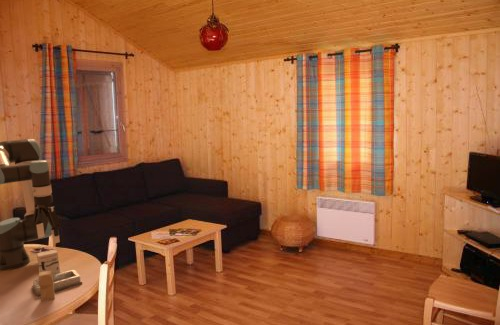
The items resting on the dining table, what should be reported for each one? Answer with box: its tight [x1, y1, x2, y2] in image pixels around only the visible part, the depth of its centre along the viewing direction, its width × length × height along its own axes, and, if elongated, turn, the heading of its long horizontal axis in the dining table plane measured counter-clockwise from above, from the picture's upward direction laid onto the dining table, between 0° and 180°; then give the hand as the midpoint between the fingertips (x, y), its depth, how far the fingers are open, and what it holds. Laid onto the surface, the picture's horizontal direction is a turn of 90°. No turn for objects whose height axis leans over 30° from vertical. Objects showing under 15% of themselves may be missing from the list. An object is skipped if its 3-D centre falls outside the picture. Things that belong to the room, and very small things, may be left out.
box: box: [38, 270, 56, 302], centre depth 172 cm, size 5×4×11 cm
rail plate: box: [31, 269, 83, 298], centre depth 184 cm, size 12×18×4 cm, turn 128°
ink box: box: [36, 249, 61, 275], centre depth 194 cm, size 8×5×12 cm, turn 123°
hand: (48, 240), depth 189 cm, fingers open, 13 cm apart
